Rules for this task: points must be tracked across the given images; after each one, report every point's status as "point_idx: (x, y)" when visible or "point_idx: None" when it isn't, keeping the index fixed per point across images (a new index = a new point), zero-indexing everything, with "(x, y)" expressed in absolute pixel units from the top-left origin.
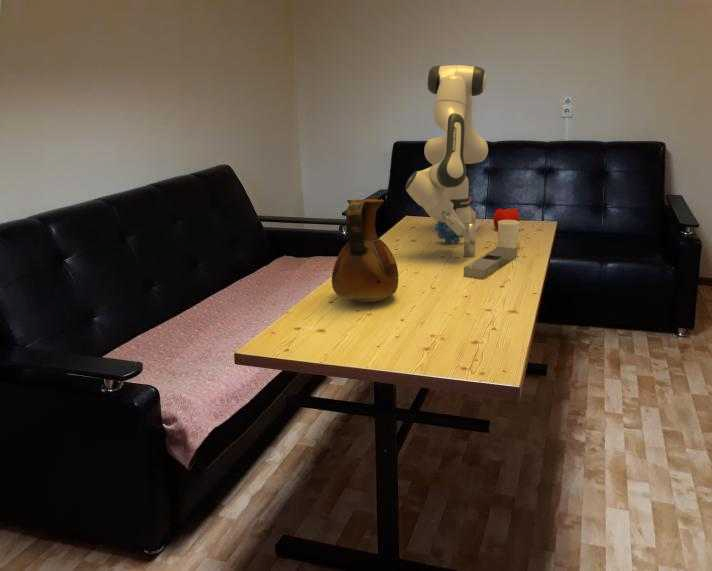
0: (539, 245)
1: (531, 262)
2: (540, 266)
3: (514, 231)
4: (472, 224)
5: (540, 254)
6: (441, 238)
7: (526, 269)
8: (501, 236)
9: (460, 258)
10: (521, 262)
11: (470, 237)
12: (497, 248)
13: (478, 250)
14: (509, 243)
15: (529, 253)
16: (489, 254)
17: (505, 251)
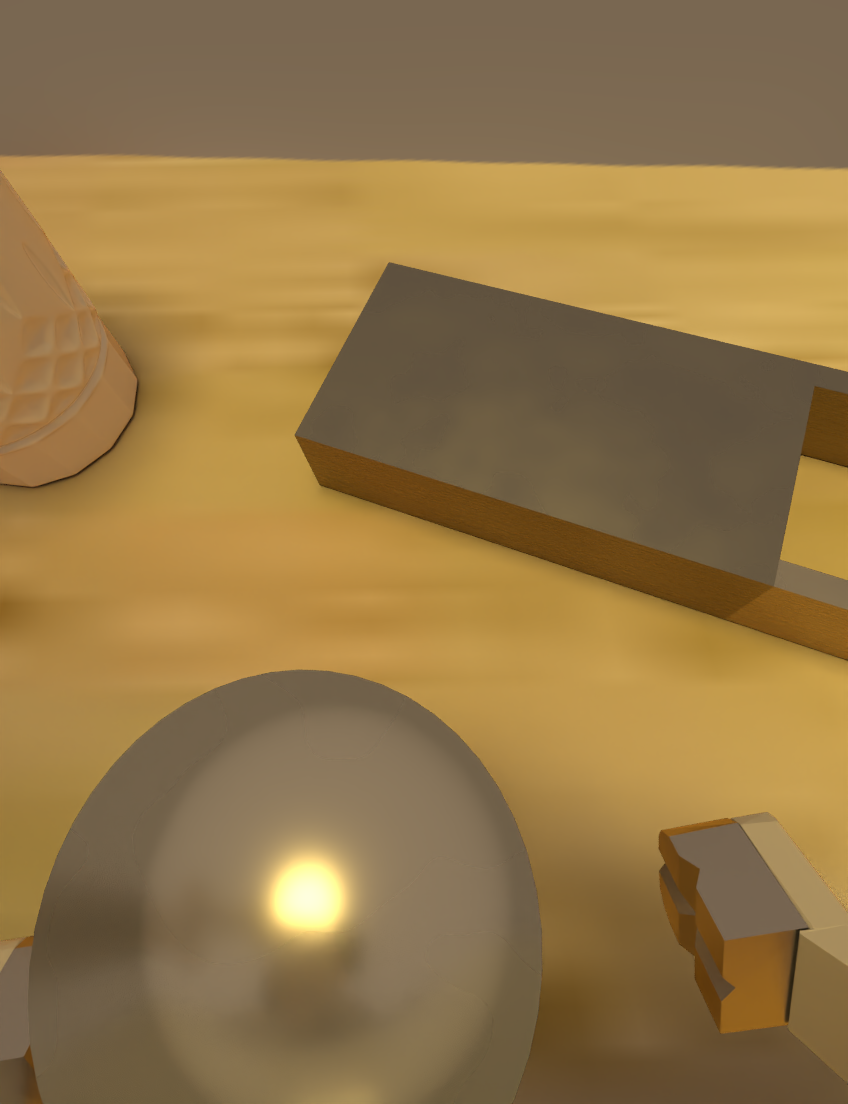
0: None
1: (584, 227)
2: (701, 172)
3: (7, 182)
4: (451, 816)
5: (306, 179)
6: None
7: (844, 255)
8: (2, 373)
9: (567, 968)
10: (603, 293)
11: (784, 848)
12: (399, 446)
13: (128, 706)
14: (99, 347)
15: (273, 246)
16: (748, 531)
17: (539, 362)
